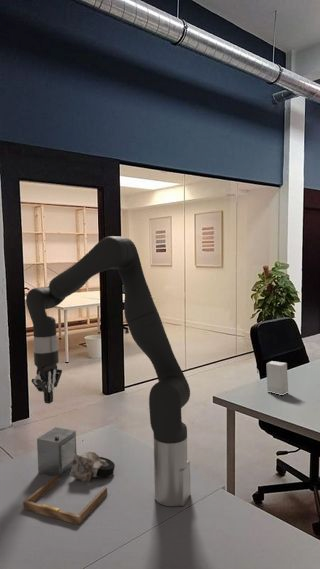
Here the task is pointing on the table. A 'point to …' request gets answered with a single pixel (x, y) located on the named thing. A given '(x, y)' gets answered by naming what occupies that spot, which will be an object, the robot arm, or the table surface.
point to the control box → (56, 452)
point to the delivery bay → (56, 512)
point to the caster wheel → (91, 467)
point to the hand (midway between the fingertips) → (48, 402)
